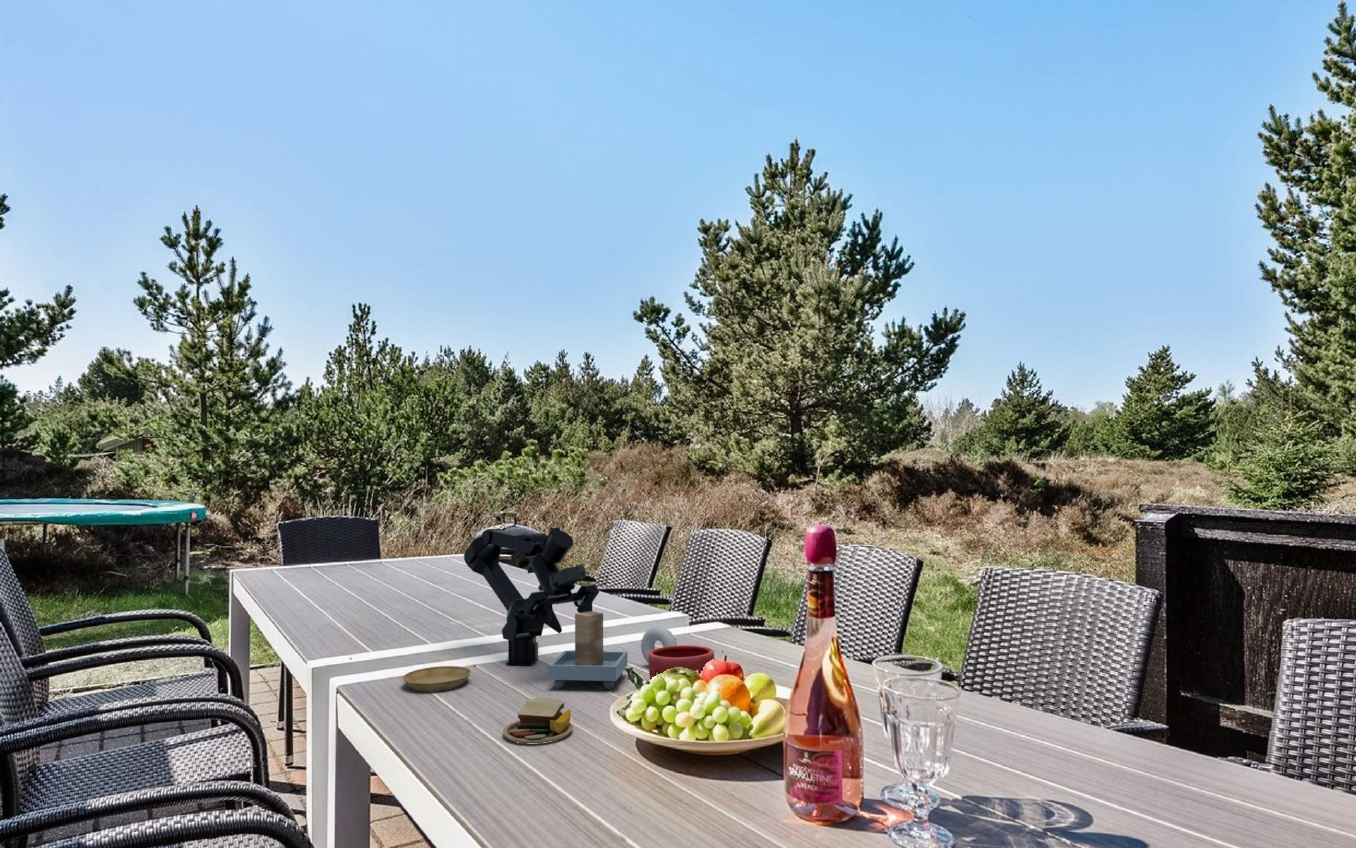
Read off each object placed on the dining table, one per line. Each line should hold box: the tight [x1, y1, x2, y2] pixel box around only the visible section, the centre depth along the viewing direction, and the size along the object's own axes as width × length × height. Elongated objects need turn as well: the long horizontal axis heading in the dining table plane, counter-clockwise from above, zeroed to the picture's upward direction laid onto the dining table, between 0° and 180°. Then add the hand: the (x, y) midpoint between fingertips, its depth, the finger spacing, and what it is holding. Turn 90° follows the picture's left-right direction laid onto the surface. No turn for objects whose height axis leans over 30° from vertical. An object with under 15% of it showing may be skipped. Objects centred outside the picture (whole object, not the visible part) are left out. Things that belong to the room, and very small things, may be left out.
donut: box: [640, 625, 678, 665], centre depth 186 cm, size 10×3×10 cm, turn 57°
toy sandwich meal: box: [502, 697, 574, 743], centre depth 141 cm, size 12×14×5 cm
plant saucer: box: [402, 665, 472, 693], centre depth 174 cm, size 15×15×3 cm
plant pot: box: [648, 644, 715, 680], centre depth 153 cm, size 13×13×12 cm
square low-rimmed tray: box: [547, 650, 629, 691], centre depth 174 cm, size 15×14×5 cm
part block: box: [574, 611, 604, 666], centre depth 174 cm, size 4×4×12 cm
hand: (577, 629), depth 178 cm, fingers open, 9 cm apart
